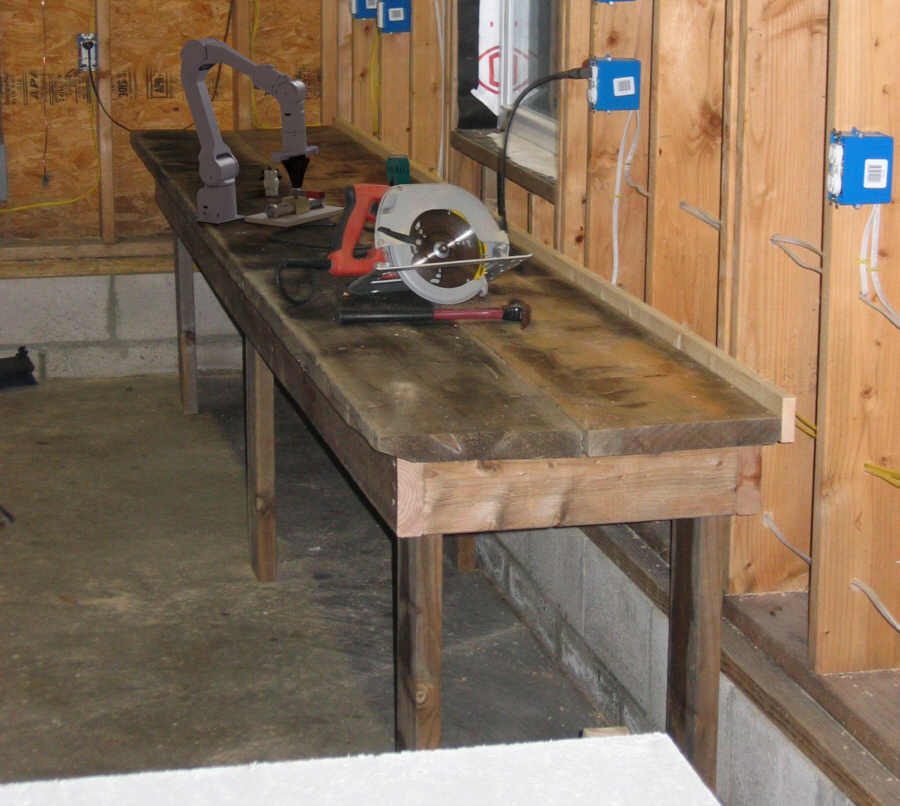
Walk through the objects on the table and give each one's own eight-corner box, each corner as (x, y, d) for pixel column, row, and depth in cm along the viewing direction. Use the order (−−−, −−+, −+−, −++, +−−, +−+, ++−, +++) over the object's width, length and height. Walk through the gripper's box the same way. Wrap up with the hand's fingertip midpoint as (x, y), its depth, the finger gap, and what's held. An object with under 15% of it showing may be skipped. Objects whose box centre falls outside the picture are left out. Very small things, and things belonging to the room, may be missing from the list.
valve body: (278, 220, 347) (277, 202, 346) (264, 218, 350) (263, 200, 349) (327, 209, 361) (326, 191, 359) (313, 207, 364) (312, 189, 362)
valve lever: (288, 195, 354) (287, 188, 353) (295, 194, 356) (294, 187, 355) (318, 199, 348) (318, 192, 347) (325, 198, 350) (325, 190, 349)
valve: (284, 195, 387) (282, 188, 398) (282, 171, 385) (281, 165, 396) (260, 197, 386) (259, 189, 397) (258, 172, 384) (257, 166, 395)
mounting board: (286, 227, 343) (286, 222, 343) (245, 221, 352) (245, 216, 351) (346, 212, 360) (346, 208, 360) (306, 207, 368) (305, 203, 368)
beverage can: (384, 216, 354) (381, 155, 350) (404, 213, 357) (402, 153, 352) (395, 219, 350) (392, 158, 345) (415, 216, 352) (413, 156, 348)
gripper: (285, 135, 333) (288, 193, 337) (326, 128, 344) (329, 184, 348) (263, 134, 337) (267, 190, 341) (305, 127, 348) (308, 182, 352)
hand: (297, 187), depth 345 cm, fingers closed
